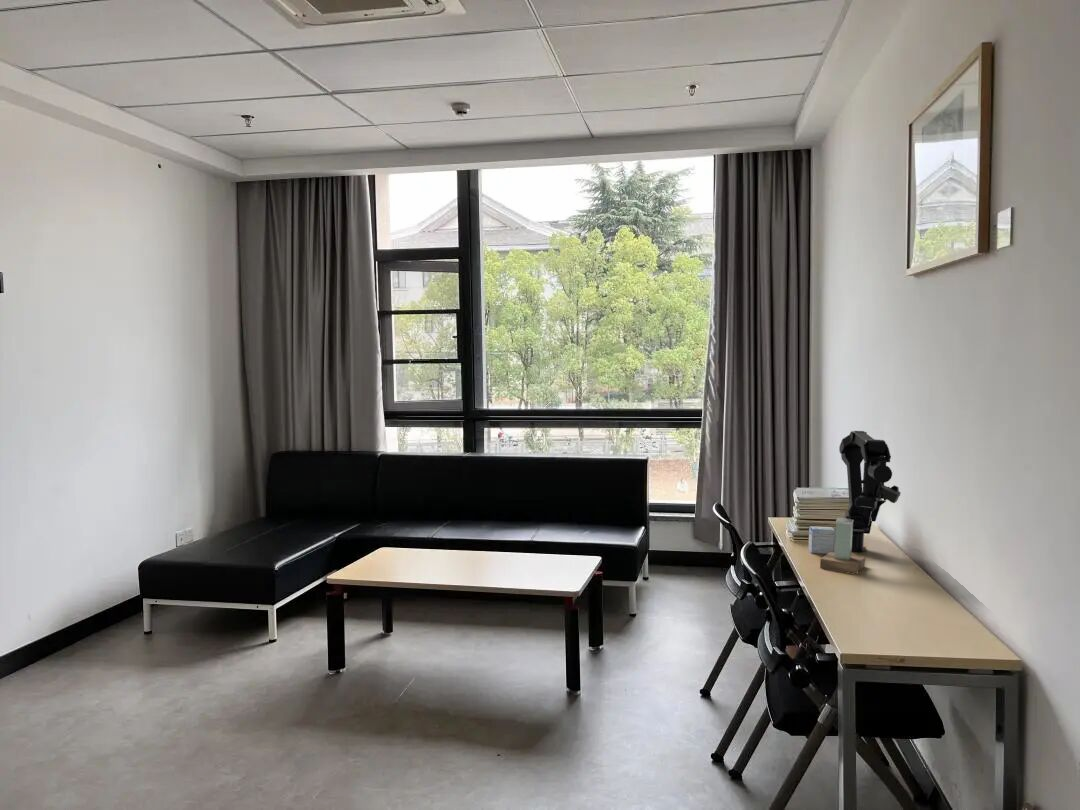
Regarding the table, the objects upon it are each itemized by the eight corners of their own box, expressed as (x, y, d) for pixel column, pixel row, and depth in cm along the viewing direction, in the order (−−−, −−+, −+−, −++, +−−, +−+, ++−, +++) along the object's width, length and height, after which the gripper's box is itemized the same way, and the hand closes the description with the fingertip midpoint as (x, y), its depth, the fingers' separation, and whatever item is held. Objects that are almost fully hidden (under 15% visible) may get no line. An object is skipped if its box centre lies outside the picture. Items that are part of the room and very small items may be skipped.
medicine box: (831, 551, 271) (832, 526, 270) (834, 554, 266) (835, 530, 266) (807, 550, 272) (809, 526, 271) (811, 553, 267) (812, 529, 266)
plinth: (830, 560, 259) (830, 551, 259) (864, 566, 252) (865, 557, 252) (820, 567, 250) (820, 558, 250) (855, 574, 244) (855, 565, 243)
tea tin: (836, 555, 254) (838, 517, 253) (851, 557, 252) (853, 519, 251) (834, 558, 250) (835, 520, 249) (849, 561, 248) (851, 522, 247)
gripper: (892, 484, 243) (889, 532, 245) (905, 476, 258) (902, 522, 259) (855, 480, 250) (852, 527, 251) (870, 472, 265) (867, 517, 266)
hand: (870, 523), depth 257 cm, fingers open, 9 cm apart
